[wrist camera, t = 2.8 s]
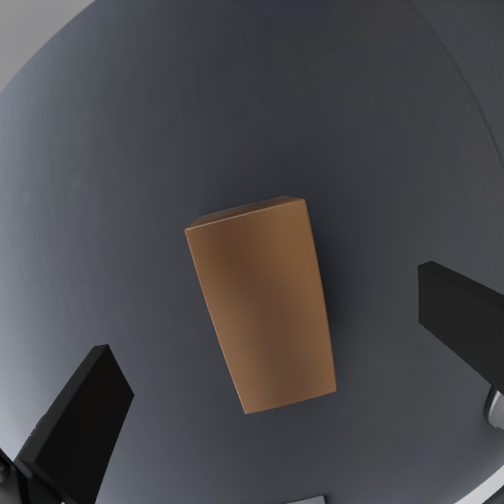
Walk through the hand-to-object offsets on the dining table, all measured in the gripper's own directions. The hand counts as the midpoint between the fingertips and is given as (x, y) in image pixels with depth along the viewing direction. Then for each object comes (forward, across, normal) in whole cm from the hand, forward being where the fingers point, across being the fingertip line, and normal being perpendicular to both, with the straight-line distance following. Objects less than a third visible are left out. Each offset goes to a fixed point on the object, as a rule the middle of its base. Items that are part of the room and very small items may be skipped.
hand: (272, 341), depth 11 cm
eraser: (+7, 0, 0) cm, 7 cm away
